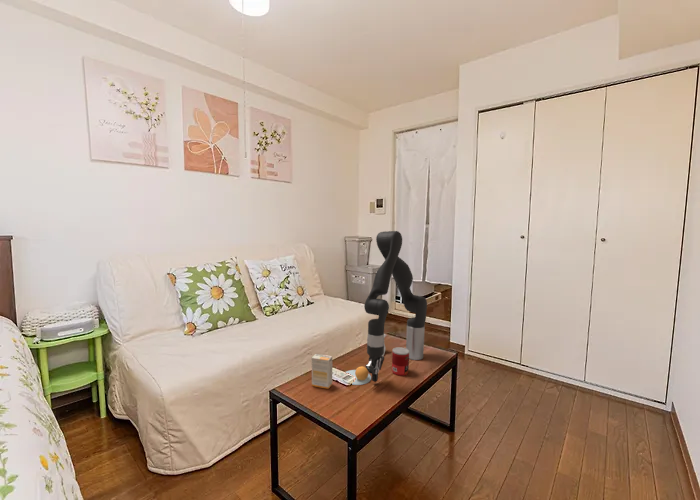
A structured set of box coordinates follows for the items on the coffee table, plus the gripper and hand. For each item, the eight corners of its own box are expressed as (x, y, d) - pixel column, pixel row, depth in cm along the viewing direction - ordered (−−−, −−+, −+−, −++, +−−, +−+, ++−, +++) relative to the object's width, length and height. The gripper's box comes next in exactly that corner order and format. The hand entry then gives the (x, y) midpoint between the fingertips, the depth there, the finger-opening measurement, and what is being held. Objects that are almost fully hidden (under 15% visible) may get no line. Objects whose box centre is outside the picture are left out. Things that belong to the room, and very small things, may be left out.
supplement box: (332, 384, 144) (333, 355, 143) (328, 389, 140) (328, 360, 138) (315, 381, 147) (316, 353, 146) (311, 386, 142) (311, 357, 141)
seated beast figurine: (367, 352, 179) (367, 331, 178) (375, 347, 186) (376, 327, 185) (382, 357, 173) (382, 335, 172) (390, 352, 180) (390, 331, 179)
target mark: (352, 367, 161) (352, 367, 161) (376, 375, 153) (376, 375, 153) (335, 378, 149) (335, 378, 149) (360, 388, 141) (360, 387, 141)
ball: (372, 371, 149) (366, 380, 151) (363, 362, 152) (357, 371, 153) (366, 375, 144) (359, 384, 146) (356, 365, 147) (350, 375, 148)
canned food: (408, 377, 152) (409, 354, 151) (391, 375, 154) (391, 352, 153) (408, 369, 160) (409, 348, 158) (392, 367, 161) (392, 346, 160)
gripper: (376, 337, 151) (375, 372, 153) (360, 345, 140) (359, 384, 142) (390, 340, 147) (389, 377, 148) (375, 350, 136) (374, 389, 137)
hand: (374, 380), depth 145 cm, fingers closed
